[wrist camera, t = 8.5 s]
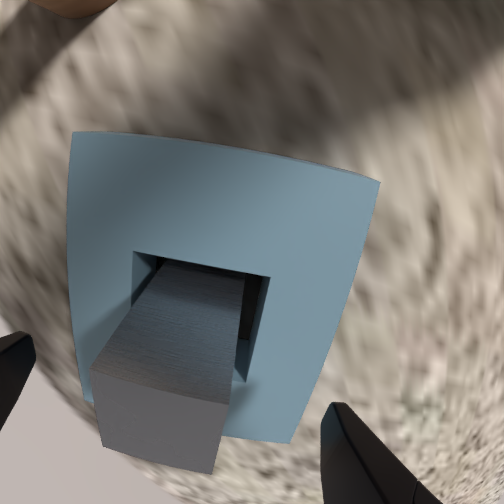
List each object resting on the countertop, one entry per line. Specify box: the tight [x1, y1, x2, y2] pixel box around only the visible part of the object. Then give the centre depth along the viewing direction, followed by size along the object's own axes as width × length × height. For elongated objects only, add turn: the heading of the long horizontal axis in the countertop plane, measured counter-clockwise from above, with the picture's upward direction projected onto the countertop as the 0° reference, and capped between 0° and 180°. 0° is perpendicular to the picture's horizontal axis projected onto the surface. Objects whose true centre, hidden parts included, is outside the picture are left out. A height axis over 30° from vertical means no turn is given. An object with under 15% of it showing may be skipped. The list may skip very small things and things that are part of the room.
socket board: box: [67, 132, 380, 444], centre depth 12 cm, size 10×12×3 cm
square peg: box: [89, 258, 246, 475], centre depth 10 cm, size 3×3×8 cm
